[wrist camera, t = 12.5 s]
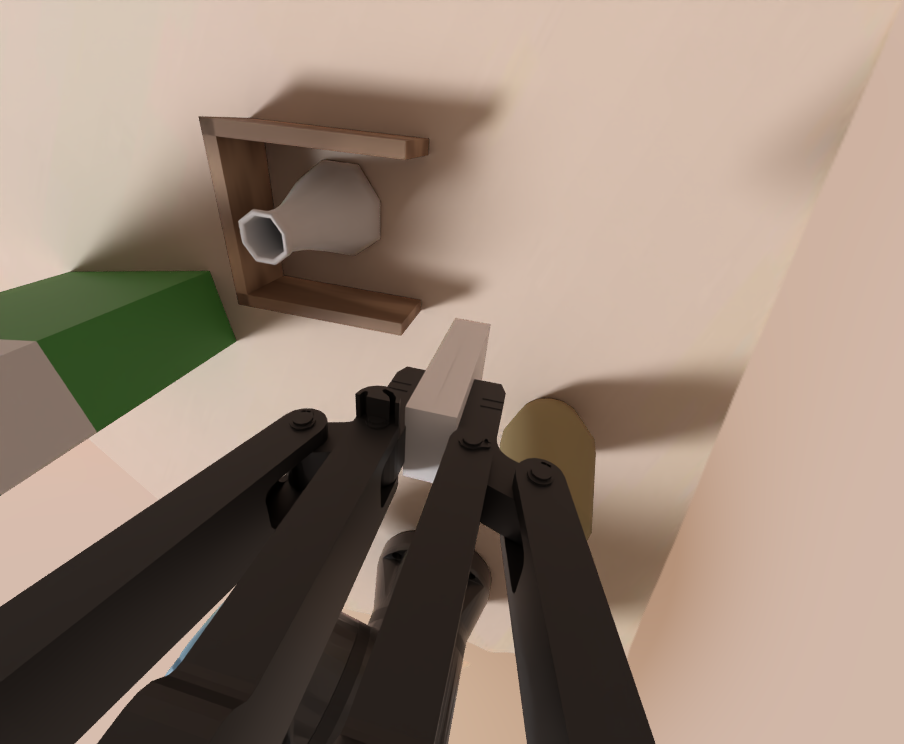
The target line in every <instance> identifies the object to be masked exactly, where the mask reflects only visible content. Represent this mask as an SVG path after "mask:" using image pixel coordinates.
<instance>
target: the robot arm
mask: <svg viewBox="0 0 904 744" xmlns="http://www.w3.org/2000/svg"><path fill="white" fill-rule="evenodd" d="M489 331H490V324H486V323H480V322H475V321H469V320H464V319H458V318H455V320H454V321H453V323H452V325H451V327H450V328H449V330H448V332H447V334H446V336H445V337H444V339H443V341H442V343H441V344H440V346H439V348H438V350H437V352H436V353H435V355H434V357H433V359H432V360H431V362H430V364H429V366H428V367H427V369H426V370H422V369H417V368H412V367H406V368H404V369H402V370H400V371H399V372H397V373H396V375H395V376H394V378H393V379H392V382H390V384H389V385H388V387H386V386H370V387H366V388H364V389H361V390H360V391H359V392H357V393H356V394H355V395H356V418H355V419H354V421H351V422H327V418H326V416H325V414H324V413H322V412H321V411H319V410H315V409H299V410H294V411H292V412H290V413H288V414H286V415H284V416H283V417H281V418H280V419H278V420H277V421H275V422H274V423H273V424H271V425H270V426H268V427H267V428H265V429H264V430H262V431H261V432H259V433H258V434H256V435H255V436H253V437H252V438H250V439H249V440H247V441H246V442H244V443H243V444H241V445H240V446H238V447H237V448H235V449H234V450H232V451H231V452H229V453H228V454H226V455H225V456H223V457H222V458H221V459H219V460H218V461H216V462H215V463H213V464H212V465H210V466H209V467H207V468H206V469H204V470H203V471H201V472H200V473H198V474H197V475H195V476H194V477H192V478H191V479H189V480H188V481H186V482H185V483H183V484H182V485H180V486H179V487H177V488H176V489H174V490H173V491H172V492H170V493H169V494H167V495H166V496H164V497H163V498H161V499H160V500H158V501H157V502H155V503H154V504H152V505H151V506H149V507H148V508H146V509H145V510H143V511H142V512H140V513H139V514H137V515H136V516H134V517H133V518H131V519H130V520H128V521H127V522H125V523H124V524H123V525H121V526H120V527H118V528H117V529H115V530H114V531H112V532H111V533H109V534H108V535H106V536H105V537H104V538H102V539H100V540H99V541H97V542H96V543H94V544H93V545H91V546H90V547H88V548H87V549H85V550H84V551H82V552H81V553H79V554H78V555H76V556H75V557H74V558H72V559H71V560H69V561H68V562H66V563H65V564H63V565H62V566H60V567H59V568H57V569H56V570H54V571H53V572H51V573H50V574H48V575H47V576H45V577H44V578H42V579H41V580H39V581H38V582H36V583H35V584H33V585H32V586H30V587H29V588H27V589H26V590H24V591H23V592H21V593H20V594H19V595H17V596H16V597H14V598H13V599H11V600H10V601H8V602H7V603H5V604H4V605H2V606H1V607H0V744H74V743H76V742H77V741H78V740H79V739H80V738H81V737H82V736H83V735H84V734H85V733H86V732H87V731H88V730H89V729H90V728H91V727H92V726H93V725H94V724H95V723H96V722H97V721H98V720H99V719H100V718H101V717H102V716H103V715H104V714H105V713H106V712H107V711H108V710H109V709H110V708H111V707H112V706H113V705H114V704H115V703H116V702H117V701H118V700H119V699H120V698H121V697H122V696H124V694H125V693H127V692H128V691H129V690H130V689H131V688H132V687H133V686H134V684H136V683H137V682H138V680H140V679H141V678H142V677H143V676H144V675H145V674H146V673H147V672H148V671H149V670H150V669H151V668H152V667H153V666H154V665H155V664H156V663H157V662H158V661H159V660H160V659H161V658H162V657H163V656H164V655H165V654H166V653H167V652H168V651H169V650H170V649H171V648H172V647H173V646H174V645H175V644H176V643H177V642H178V641H179V640H180V639H181V638H183V637H184V635H186V634H187V633H188V632H189V631H190V630H191V629H192V628H193V627H194V626H195V625H196V624H197V623H198V622H199V621H200V620H201V619H202V618H203V617H204V616H205V615H206V614H207V613H208V612H209V611H210V610H211V609H212V608H213V607H214V606H215V605H216V604H217V603H218V602H219V601H220V600H221V599H222V598H223V597H224V596H225V595H226V594H227V593H228V592H229V591H230V590H231V589H232V588H233V587H234V586H235V585H236V584H237V585H236V586H235V588H234V589H233V590H232V592H231V593H230V595H229V596H228V597H227V599H226V600H225V601H224V603H223V604H222V605H221V606H220V607H219V608H218V609H217V610H216V611H215V612H214V613H213V614H212V616H211V617H210V618H209V619H208V620H207V621H206V623H205V624H204V625H203V626H202V627H201V629H200V630H199V631H198V632H197V633H196V635H195V636H194V637H193V638H192V640H191V641H190V642H189V643H188V645H187V646H186V647H185V649H184V650H183V651H182V653H181V655H180V657H179V658H178V659H177V660H176V662H175V663H174V665H173V666H172V667H171V668H170V669H169V671H168V672H167V674H166V675H165V676H164V677H162V678H159V679H157V680H154V681H151V682H150V683H149V684H148V685H146V686H145V687H144V688H143V689H142V690H140V691H139V692H138V693H137V694H136V695H135V696H134V697H133V699H132V700H131V701H130V702H129V703H128V704H127V706H126V707H125V708H124V709H123V710H122V712H121V713H120V714H119V716H118V717H117V718H116V719H115V721H114V722H113V724H112V725H111V726H110V728H109V729H108V730H107V731H106V733H105V734H104V735H103V737H102V738H101V739H100V741H99V742H98V743H97V744H448V740H449V735H450V729H451V724H452V718H453V712H454V707H455V701H456V696H457V690H458V685H459V679H460V673H461V668H462V662H463V656H464V650H465V646H466V642H467V640H468V638H469V636H470V634H471V632H472V630H473V628H474V627H475V625H476V623H477V621H478V619H479V617H480V615H481V613H482V611H483V609H484V607H485V606H486V604H487V601H488V598H489V593H490V586H491V574H490V571H489V568H488V566H487V565H486V563H485V562H484V561H483V559H482V558H481V557H480V556H479V555H478V554H477V553H476V552H474V549H475V544H476V539H477V534H478V529H479V525H480V522H481V523H482V524H484V525H486V526H487V527H489V528H491V529H493V530H494V531H496V532H498V533H499V534H500V541H501V549H502V557H503V564H504V572H505V580H506V587H507V595H508V602H509V610H510V618H511V625H512V633H513V641H514V648H515V656H516V663H517V671H518V679H519V686H520V694H521V701H522V709H523V716H524V724H525V732H526V739H527V744H655V741H654V738H653V735H652V732H651V729H650V726H649V724H648V720H647V718H646V714H645V711H644V708H643V705H642V703H641V700H640V697H639V694H638V691H637V688H636V685H635V682H634V679H633V676H632V673H631V670H630V667H629V664H628V661H627V658H626V655H625V652H624V649H623V646H622V643H621V641H620V638H619V635H618V632H617V629H616V626H615V623H614V620H613V617H612V614H611V611H610V608H609V605H608V602H607V599H606V596H605V593H604V590H603V587H602V584H601V582H600V579H599V576H598V573H597V570H596V567H595V564H594V561H593V558H592V555H591V552H590V549H589V546H588V543H587V540H586V537H585V534H584V531H583V528H582V525H581V522H580V520H579V517H578V514H577V511H576V508H575V505H574V502H573V499H572V496H571V493H570V490H569V487H568V484H567V481H566V478H565V476H564V474H563V473H562V471H561V470H560V469H559V468H558V467H557V466H556V465H555V464H553V463H551V462H549V461H547V460H544V459H539V458H528V459H525V460H523V461H521V462H520V463H518V462H516V461H514V460H512V459H511V458H509V457H507V456H506V455H505V454H504V453H503V452H502V451H501V450H500V448H499V447H498V444H497V435H498V430H499V425H500V420H501V415H502V410H503V404H504V399H505V394H506V393H505V391H504V389H503V387H502V385H501V384H496V383H491V382H486V381H482V375H483V369H484V362H485V356H486V350H487V343H488V337H489ZM402 466H403V476H406V477H410V478H414V479H418V480H422V481H426V482H431V483H433V484H432V487H431V490H430V492H429V495H428V498H427V501H426V503H425V506H424V509H423V512H422V514H421V517H420V520H419V523H418V525H417V528H416V531H411V532H405V533H401V534H398V535H396V536H394V537H392V538H391V539H390V540H389V541H388V542H387V543H386V545H385V547H384V549H383V551H382V554H381V556H380V558H379V561H378V566H377V577H376V589H375V600H374V609H373V613H372V615H371V618H370V621H369V623H368V625H366V624H364V623H362V622H360V621H359V620H357V619H355V618H353V617H351V616H349V615H347V614H345V613H343V612H341V611H342V609H343V607H344V604H345V602H346V600H347V598H348V596H349V593H350V591H351V589H352V587H353V584H354V582H355V580H356V578H357V576H358V573H359V571H360V569H361V567H362V565H363V562H364V560H365V558H366V556H367V554H368V551H369V549H370V547H371V545H372V542H373V540H374V538H375V536H376V534H377V531H378V529H379V527H380V525H381V523H382V520H383V518H384V516H385V514H386V512H387V509H388V507H389V505H390V503H391V500H392V498H393V496H394V494H395V492H396V489H397V485H398V474H399V472H400V470H401V468H402ZM286 473H287V474H286ZM285 474H286V475H285ZM281 477H282V478H281Z"/></svg>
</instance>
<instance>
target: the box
mask: <svg viewBox="0 0 904 744" xmlns="http://www.w3.org/2000/svg"><path fill="white" fill-rule="evenodd" d="M199 121H200V126H201V130H202V135H203V140H204V144H205V149H206V154H207V158H208V163H209V168H210V172H211V177H212V182H213V186H214V191H215V196H216V200H217V205H218V210H219V214H220V219H221V224H222V229H223V233H224V238H225V243H226V247H227V252H228V257H229V261H230V266H231V271H232V275H233V280H234V285H235V289H236V294H237V299H238V303H239V304H240V305H245V306H250V307H256V308H261V309H266V310H271V311H276V312H281V313H287V314H292V315H297V316H302V317H307V318H312V319H318V320H323V321H328V322H333V323H338V324H343V325H349V326H354V327H359V328H364V329H369V330H374V331H380V332H385V333H390V334H395V335H400V336H401V335H402V334H403V333H404V331H405V330H406V329H407V328H408V326H409V325H410V324H411V322H412V321H413V320H414V319H415V317H416V316H417V315H418V313H419V312H420V310H421V300H418V299H412V298H407V297H401V296H395V295H390V294H384V293H378V292H373V291H367V290H362V289H356V288H350V287H345V286H339V285H334V284H328V283H322V282H317V281H311V280H305V279H300V278H294V277H289V276H284V275H283V268H282V261H281V262H279V263H278V264H276V265H273V264H267V263H262V262H257V261H256V260H255V259H254V258H253V256H252V255H251V254H250V253H249V251H248V250H247V249H246V247H245V246H244V245H243V243H242V239H241V234H240V228H239V223H238V221H239V220H240V219H241V218H243V217H244V216H245V215H246V214H247V213H249V212H250V211H251V210H253V209H257V210H263V211H270V210H273V209H274V205H273V198H272V191H271V184H270V177H269V170H268V163H267V156H266V150H265V143H264V142H267V143H275V144H283V145H291V146H299V147H307V148H315V149H323V150H331V151H339V152H347V153H355V154H363V155H371V156H379V157H387V158H395V159H404V160H406V159H411V158H416V157H421V156H426V155H428V150H429V139H427V138H418V137H410V136H401V135H392V134H384V133H375V132H366V131H358V130H349V129H340V128H332V127H323V126H314V125H306V124H297V123H288V122H280V121H271V120H262V119H254V118H233V117H200V116H199Z"/></svg>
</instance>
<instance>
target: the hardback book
mask: <svg viewBox="0 0 904 744" xmlns="http://www.w3.org/2000/svg"><path fill="white" fill-rule="evenodd" d="M235 342H236V339H235V336H234V333H233V331H232V328H231V326H230V323H229V320H228V318H227V315H226V313H225V310H224V307H223V305H222V302H221V300H220V297H219V294H218V292H217V289H216V287H215V284H214V281H213V279H212V276H211V274H210V271H103V272H68V273H64V274H61V275H58V276H54V277H51V278H47V279H44V280H40V281H37V282H34V283H30V284H27V285H23V286H20V287H17V288H13V289H10V290H6V291H3V292H0V496H1V495H2V494H4V493H5V492H7V491H8V490H9V489H11V488H13V487H15V486H16V485H18V484H19V483H21V482H22V481H24V480H25V479H27V478H28V477H30V476H31V475H33V474H34V473H36V472H37V471H39V470H40V469H42V468H43V467H45V466H47V465H48V464H50V463H51V462H53V461H54V460H56V459H57V458H59V457H60V456H62V455H63V454H65V453H66V452H68V451H70V450H71V449H72V448H74V447H75V446H77V445H79V444H80V443H82V442H83V441H85V440H86V439H88V438H89V437H91V436H92V435H94V434H96V433H97V432H99V431H100V430H102V429H103V428H105V427H106V426H108V425H109V424H111V423H112V422H114V421H115V420H117V419H118V418H120V417H121V416H123V415H125V414H126V413H128V412H129V411H131V410H132V409H134V408H135V407H137V406H138V405H140V404H141V403H143V402H144V401H146V400H147V399H149V398H151V397H152V396H154V395H155V394H157V393H158V392H160V391H161V390H163V389H164V388H166V387H167V386H169V385H170V384H172V383H173V382H175V381H176V380H178V379H180V378H181V377H183V376H184V375H186V374H187V373H189V372H190V371H192V370H193V369H195V368H196V367H198V366H199V365H201V364H202V363H204V362H205V361H207V360H209V359H210V358H212V357H213V356H215V355H216V354H218V353H219V352H221V351H222V350H224V349H225V348H227V347H228V346H230V345H231V344H233V343H235Z"/></svg>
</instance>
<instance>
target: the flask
mask: <svg viewBox="0 0 904 744" xmlns="http://www.w3.org/2000/svg"><path fill="white" fill-rule="evenodd" d="M238 223H239V228H240V234H241V239H242V243H243V245H244V246H245V247H246V249H247V250H248V251H249V253H250V254H251V255H252V256H253V258H254V259H255V260H256V261H257V262H262V263H267V264H273V265H276V264H278V263H279V262H281V261H282V260H284V259H285V258H286V257H288V256H289V255H291V253H292V252H294V251H301V250H317V251H327V252H334V253H340V254H346V255H356V254H358V253H359V252H361V251H362V250H364V249H365V248H367V247H369V246H370V245H372V244H373V243H375V242H376V241H378V240H379V239H380V200H379V198H378V196H377V195H376V193H375V191H374V190H373V188H372V186H371V185H370V183H369V181H368V180H367V178H366V176H365V175H364V173H363V171H362V170H361V168H360V166H359V165H358V164H351V163H343V162H336V161H329V160H322V161H320V162H319V163H318V164H317V165H316V166H314V167H313V168H312V169H311V170H310V171H308V172H307V173H306V174H305V175H304V176H302V177H301V178H300V179H299V180H297V182H296V183H295V184H294V186H293V187H292V189H291V191H290V192H289V194H288V195H287V197H286V198H285V199H284V201H283V202H282V203H281V204H280V206H278V207H277V208H275V209H273V210H270V211H263V210H257V209H253V210H251V211H250V212H249V213H247V214H246V215H245V216H244V217H243V218H241V219H240V220H239V221H238Z"/></svg>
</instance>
